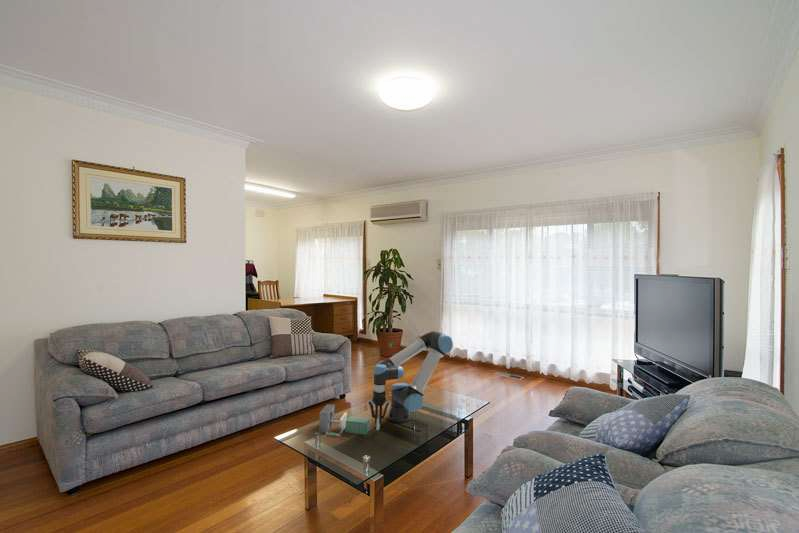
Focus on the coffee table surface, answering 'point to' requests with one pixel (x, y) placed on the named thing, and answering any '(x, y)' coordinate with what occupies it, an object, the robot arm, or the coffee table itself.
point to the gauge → (327, 420)
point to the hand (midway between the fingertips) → (378, 429)
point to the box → (357, 425)
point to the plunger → (341, 422)
